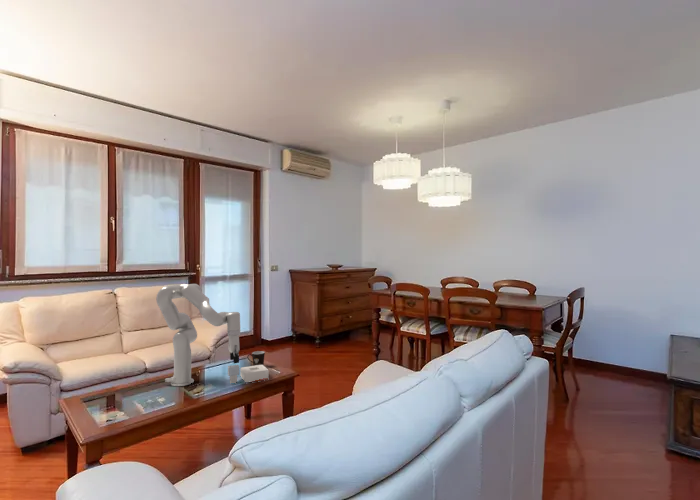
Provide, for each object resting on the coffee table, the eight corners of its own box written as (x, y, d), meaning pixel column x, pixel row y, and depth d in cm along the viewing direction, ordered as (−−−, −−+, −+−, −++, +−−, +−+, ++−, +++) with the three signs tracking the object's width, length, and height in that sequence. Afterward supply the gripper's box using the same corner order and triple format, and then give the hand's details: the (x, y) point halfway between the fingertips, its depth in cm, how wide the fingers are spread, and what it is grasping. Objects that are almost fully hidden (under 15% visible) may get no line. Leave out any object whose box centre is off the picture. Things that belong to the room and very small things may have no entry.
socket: (245, 383, 217) (245, 373, 217) (240, 377, 229) (240, 367, 229) (268, 379, 223) (268, 369, 223) (262, 373, 236) (262, 364, 236)
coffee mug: (267, 366, 252) (267, 352, 253) (258, 369, 245) (258, 354, 245) (255, 364, 258) (255, 350, 259) (246, 367, 251) (246, 352, 252)
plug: (228, 384, 215) (229, 367, 215) (227, 382, 218) (227, 366, 219) (239, 382, 218) (239, 366, 218) (237, 381, 221) (237, 364, 222)
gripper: (225, 331, 225) (225, 359, 224) (230, 335, 210) (231, 365, 209) (237, 330, 229) (238, 357, 228) (243, 334, 213) (244, 363, 213)
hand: (234, 361), depth 219 cm, fingers open, 9 cm apart
